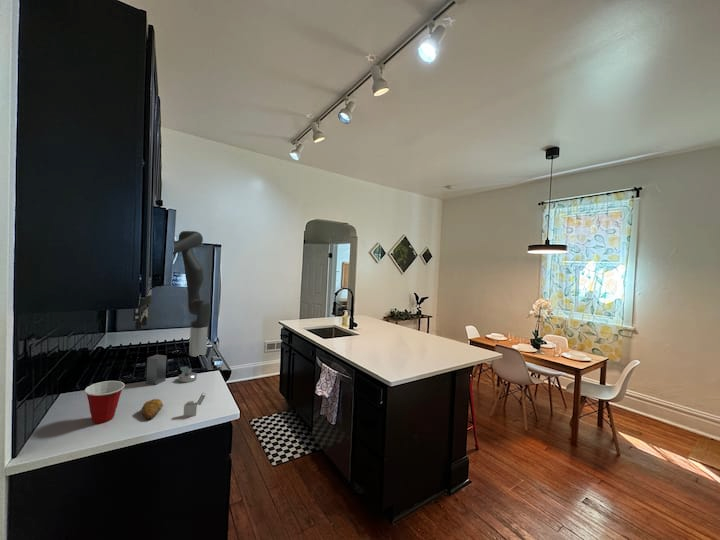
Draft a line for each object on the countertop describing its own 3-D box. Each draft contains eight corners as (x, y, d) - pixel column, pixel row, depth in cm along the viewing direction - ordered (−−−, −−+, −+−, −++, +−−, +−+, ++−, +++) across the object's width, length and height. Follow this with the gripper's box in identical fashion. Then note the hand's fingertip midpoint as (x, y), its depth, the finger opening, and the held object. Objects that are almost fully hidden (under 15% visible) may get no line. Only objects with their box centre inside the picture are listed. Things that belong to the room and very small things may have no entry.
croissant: (145, 405, 115) (146, 393, 115) (165, 403, 118) (166, 390, 118) (136, 423, 103) (137, 409, 103) (159, 419, 106) (160, 406, 106)
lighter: (183, 417, 108) (184, 396, 108) (183, 415, 110) (185, 394, 110) (204, 414, 111) (206, 393, 111) (205, 412, 113) (206, 391, 113)
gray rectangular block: (146, 383, 134) (147, 357, 134) (155, 379, 139) (156, 354, 139) (156, 384, 133) (157, 359, 133) (165, 380, 138) (166, 355, 138)
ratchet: (175, 370, 151) (176, 360, 151) (192, 368, 156) (192, 358, 156) (179, 384, 136) (179, 372, 136) (197, 381, 140) (198, 370, 140)
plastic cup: (99, 430, 97) (101, 394, 97) (74, 424, 99) (76, 390, 99) (130, 414, 108) (132, 382, 108) (107, 409, 110) (109, 378, 110)
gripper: (137, 292, 146) (136, 324, 147) (127, 296, 133) (126, 331, 134) (155, 292, 149) (154, 324, 150) (146, 296, 136) (145, 330, 136)
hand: (141, 327), depth 142 cm, fingers open, 8 cm apart
